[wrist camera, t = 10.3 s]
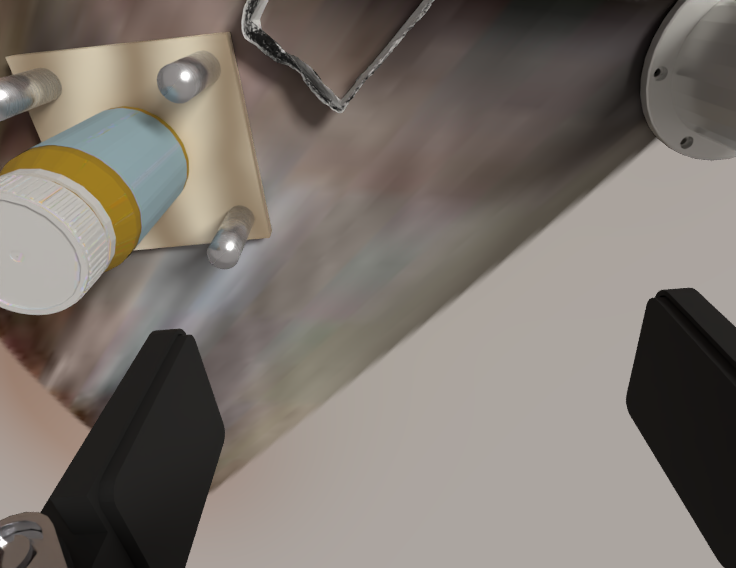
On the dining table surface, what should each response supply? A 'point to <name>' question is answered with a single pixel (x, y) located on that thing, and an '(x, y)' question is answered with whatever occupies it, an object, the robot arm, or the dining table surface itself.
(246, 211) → the holder pins
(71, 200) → the bottle
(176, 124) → the holder base
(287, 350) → the dining table surface
